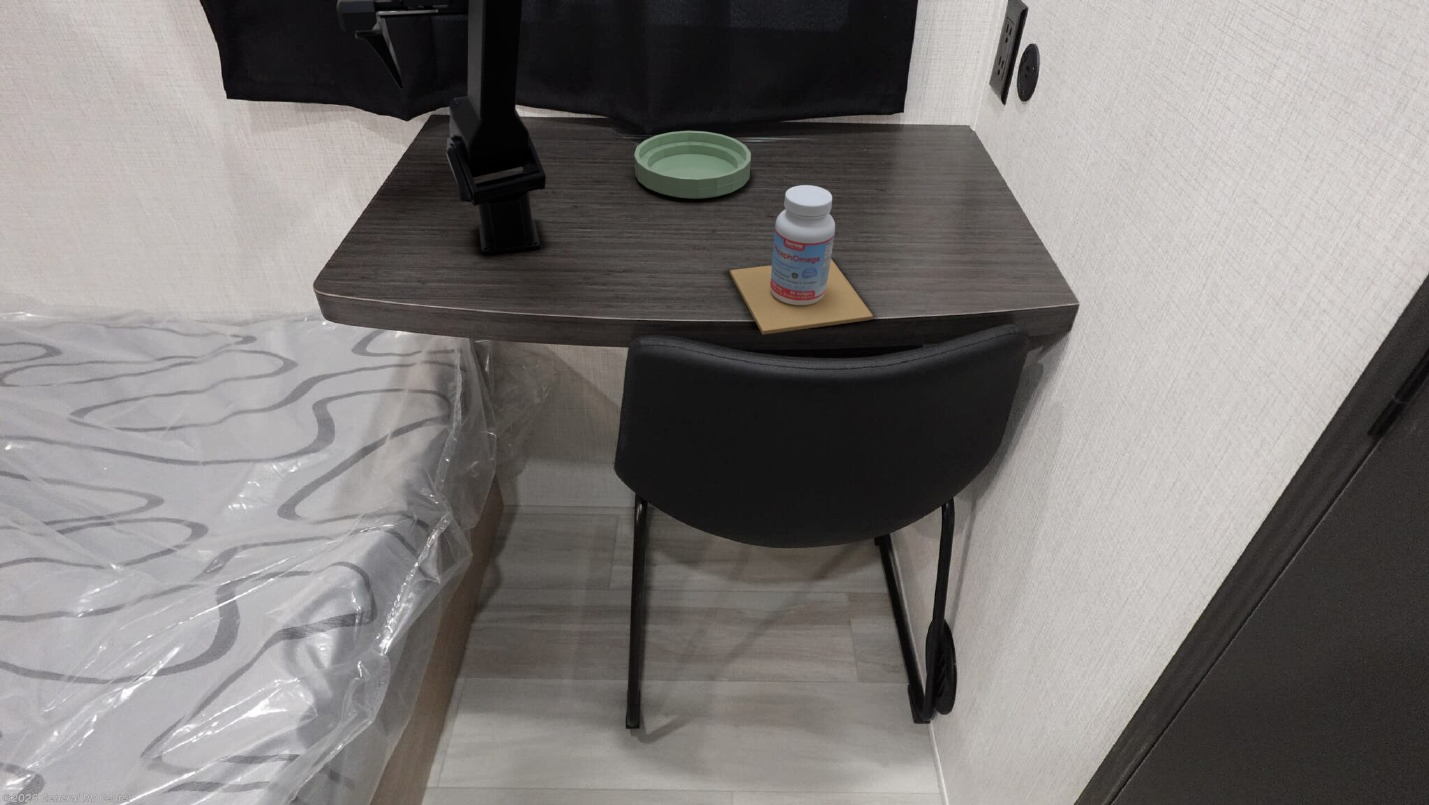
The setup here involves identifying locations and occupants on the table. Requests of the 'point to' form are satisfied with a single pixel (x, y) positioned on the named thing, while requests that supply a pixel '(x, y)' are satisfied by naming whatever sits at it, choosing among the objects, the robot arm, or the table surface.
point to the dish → (692, 164)
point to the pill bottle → (802, 246)
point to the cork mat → (783, 317)
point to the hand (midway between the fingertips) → (442, 85)
